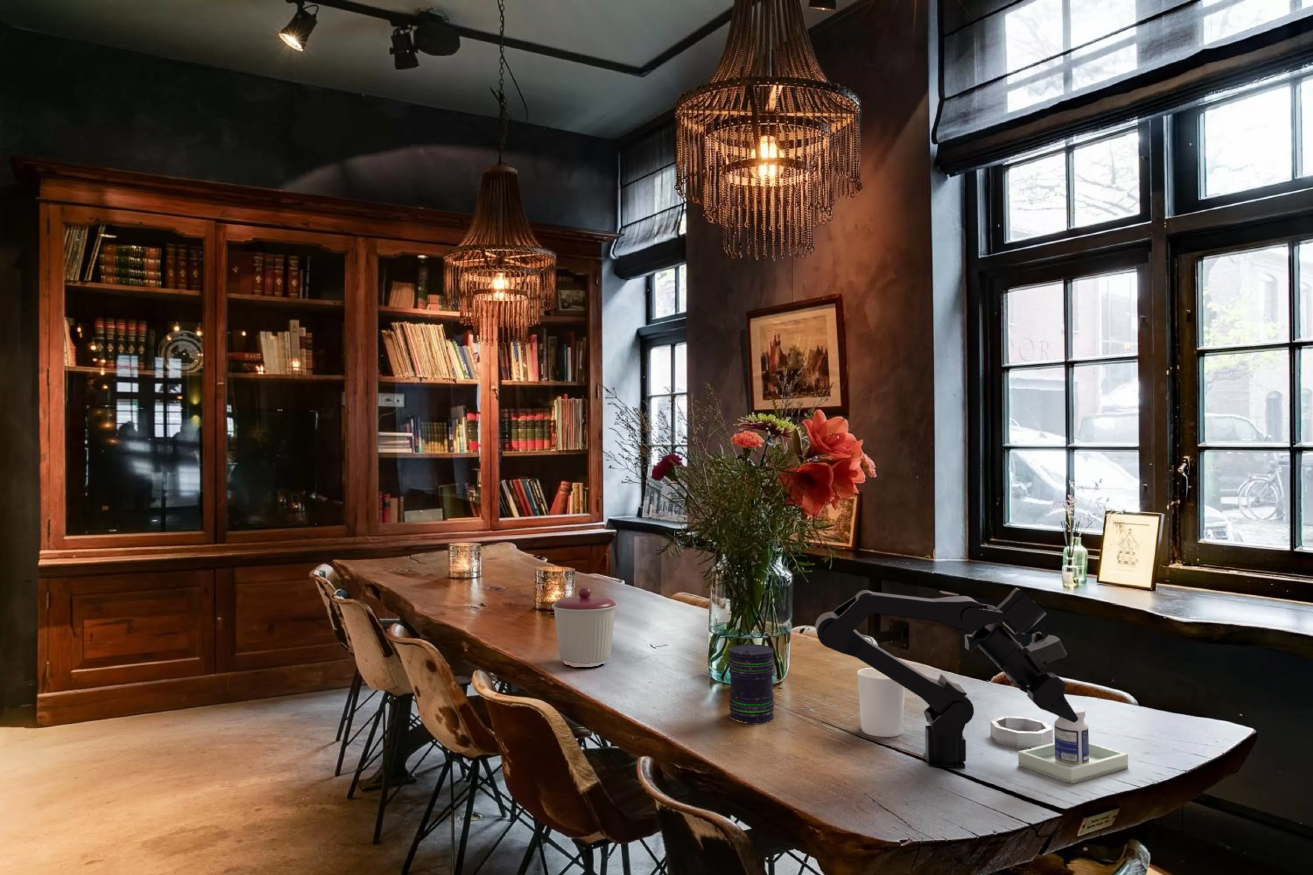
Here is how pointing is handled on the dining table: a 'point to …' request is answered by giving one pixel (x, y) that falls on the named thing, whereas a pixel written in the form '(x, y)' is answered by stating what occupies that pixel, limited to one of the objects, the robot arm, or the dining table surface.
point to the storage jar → (751, 683)
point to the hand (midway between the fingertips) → (1067, 713)
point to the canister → (584, 627)
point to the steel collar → (1021, 732)
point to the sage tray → (1098, 765)
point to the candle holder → (880, 704)
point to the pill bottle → (1072, 740)
